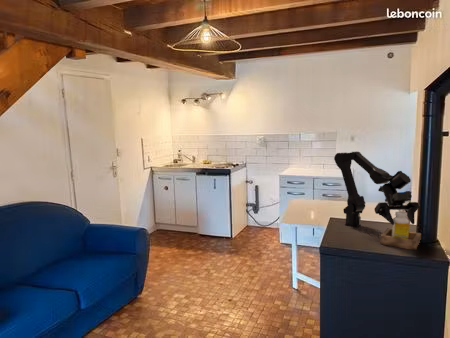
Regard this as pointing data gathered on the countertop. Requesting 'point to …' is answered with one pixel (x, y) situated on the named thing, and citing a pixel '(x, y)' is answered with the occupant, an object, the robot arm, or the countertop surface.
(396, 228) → the supplement bottle
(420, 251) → the countertop surface
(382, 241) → the box
